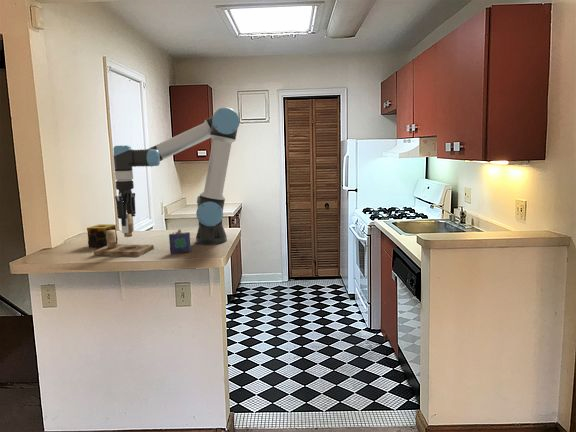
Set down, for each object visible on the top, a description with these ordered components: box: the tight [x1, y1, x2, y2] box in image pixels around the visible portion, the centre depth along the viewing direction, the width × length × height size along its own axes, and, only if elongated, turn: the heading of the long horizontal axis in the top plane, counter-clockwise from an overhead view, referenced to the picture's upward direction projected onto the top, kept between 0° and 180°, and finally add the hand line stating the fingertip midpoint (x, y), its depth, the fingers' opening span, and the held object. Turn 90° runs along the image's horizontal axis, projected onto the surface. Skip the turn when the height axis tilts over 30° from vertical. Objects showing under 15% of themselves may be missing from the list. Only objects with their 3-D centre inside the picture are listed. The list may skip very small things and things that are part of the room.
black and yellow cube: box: [86, 223, 119, 249], centre depth 229 cm, size 10×10×10 cm
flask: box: [168, 228, 192, 255], centre depth 210 cm, size 9×3×11 cm, turn 113°
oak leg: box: [123, 213, 134, 238], centre depth 212 cm, size 4×4×10 cm
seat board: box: [93, 230, 155, 257], centre depth 214 cm, size 22×14×10 cm, turn 80°
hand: (128, 231), depth 213 cm, fingers closed on oak leg, 4 cm apart
